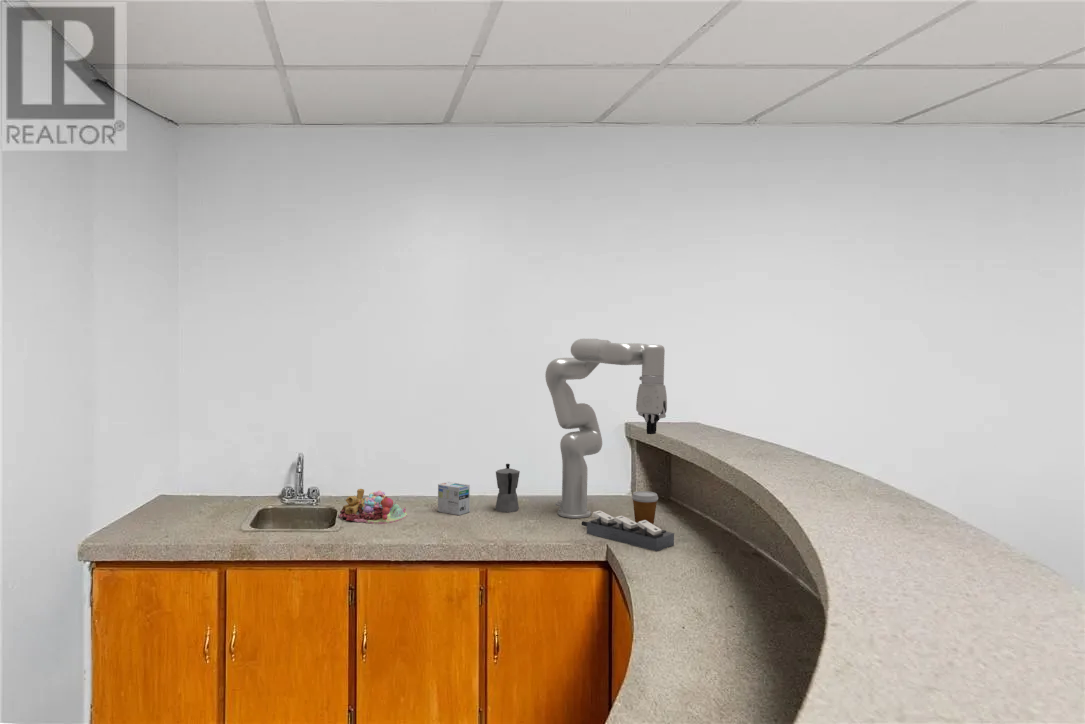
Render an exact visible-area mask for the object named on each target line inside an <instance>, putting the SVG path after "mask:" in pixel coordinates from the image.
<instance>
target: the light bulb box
mask: <svg viewBox="0 0 1085 724" xmlns="http://www.w3.org/2000/svg"><path fill="white" fill-rule="evenodd" d="M470 486H471V485H470V484H465V483H459V482H454V481H453V482H452V481H446V482H442V483H438V484H437V512H440V513H444V514H450V515H456V516H461V515H465V514H468V513H470V511H471V510H470V507H471V506H470V499H471V498H470V496H471V494H470V491H471V490H470V488H471V487H470Z"/></svg>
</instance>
